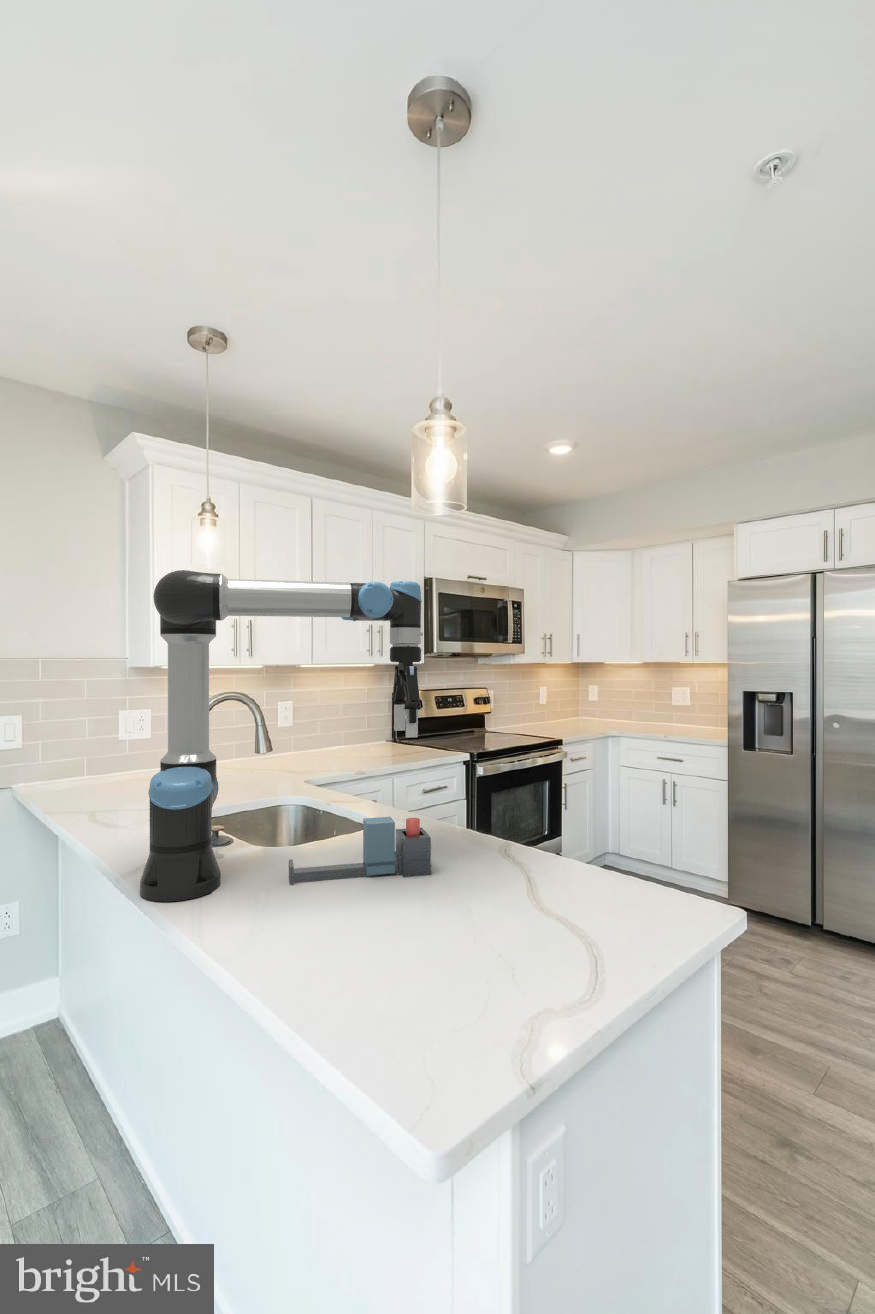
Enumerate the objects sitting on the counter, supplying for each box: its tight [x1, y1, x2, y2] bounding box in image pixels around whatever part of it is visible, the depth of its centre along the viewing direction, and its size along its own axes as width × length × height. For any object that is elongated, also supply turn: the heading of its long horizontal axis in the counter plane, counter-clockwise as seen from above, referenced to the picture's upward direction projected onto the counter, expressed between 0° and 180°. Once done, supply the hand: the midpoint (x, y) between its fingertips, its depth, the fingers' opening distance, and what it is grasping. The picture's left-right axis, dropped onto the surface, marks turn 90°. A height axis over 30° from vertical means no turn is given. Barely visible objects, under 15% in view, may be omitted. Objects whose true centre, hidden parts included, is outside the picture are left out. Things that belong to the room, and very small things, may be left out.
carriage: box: [362, 816, 396, 876], centre depth 138 cm, size 6×5×11 cm
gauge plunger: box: [405, 817, 421, 836], centre depth 140 cm, size 3×3×6 cm
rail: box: [288, 850, 402, 886], centre depth 136 cm, size 24×5×4 cm, turn 105°
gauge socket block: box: [395, 826, 432, 878], centre depth 140 cm, size 6×8×8 cm
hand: (405, 733), depth 155 cm, fingers open, 13 cm apart
